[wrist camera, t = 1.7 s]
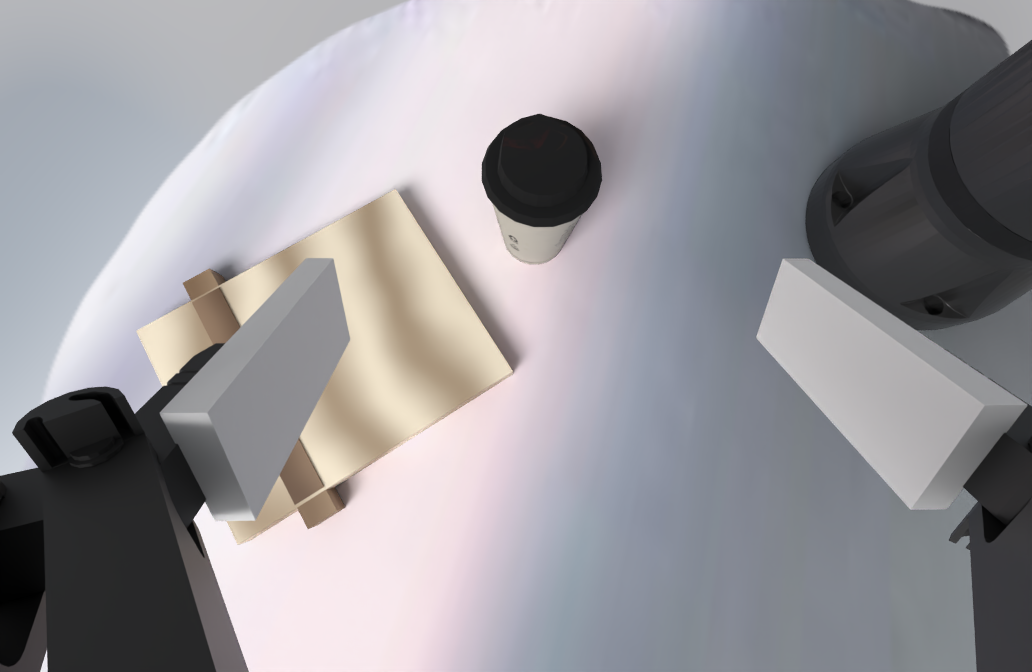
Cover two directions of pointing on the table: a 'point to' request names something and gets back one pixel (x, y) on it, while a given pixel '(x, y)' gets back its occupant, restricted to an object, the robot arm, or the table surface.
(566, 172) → the coffee cup
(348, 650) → the table surface
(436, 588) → the table surface
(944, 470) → the robot arm
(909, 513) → the table surface
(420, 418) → the subfloor panel
